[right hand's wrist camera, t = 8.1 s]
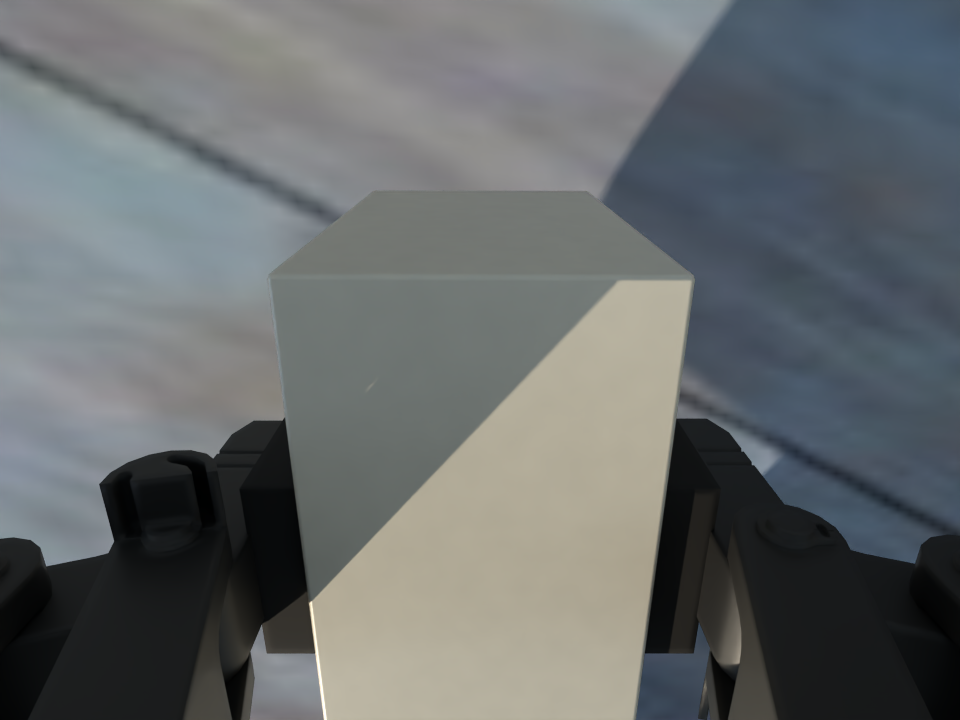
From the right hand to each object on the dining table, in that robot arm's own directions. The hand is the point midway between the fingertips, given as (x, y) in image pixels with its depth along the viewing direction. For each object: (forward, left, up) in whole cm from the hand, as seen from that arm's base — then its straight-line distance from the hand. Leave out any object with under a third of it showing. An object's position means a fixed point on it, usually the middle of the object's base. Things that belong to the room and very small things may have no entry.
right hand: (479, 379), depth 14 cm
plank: (+8, 0, 0) cm, 8 cm away
